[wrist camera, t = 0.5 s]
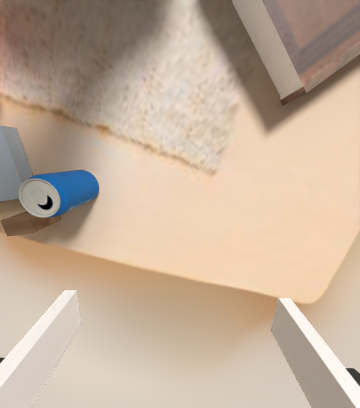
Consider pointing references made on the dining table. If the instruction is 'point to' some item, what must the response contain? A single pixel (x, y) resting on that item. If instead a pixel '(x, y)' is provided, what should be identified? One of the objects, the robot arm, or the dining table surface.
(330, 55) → the book
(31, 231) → the tab
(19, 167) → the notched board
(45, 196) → the beverage can
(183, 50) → the dining table surface
